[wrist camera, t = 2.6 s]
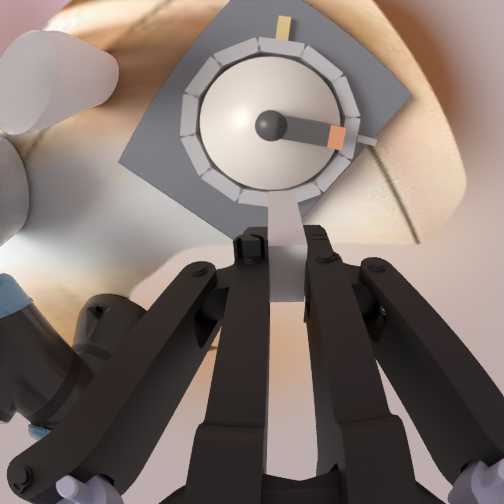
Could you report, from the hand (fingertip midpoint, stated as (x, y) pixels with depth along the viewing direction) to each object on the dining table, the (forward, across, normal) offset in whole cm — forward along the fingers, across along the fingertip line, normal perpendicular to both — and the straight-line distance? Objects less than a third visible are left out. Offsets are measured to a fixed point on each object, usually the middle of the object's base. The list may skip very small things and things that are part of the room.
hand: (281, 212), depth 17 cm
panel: (+12, -1, +5) cm, 14 cm away
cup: (+13, -19, +12) cm, 26 cm away
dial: (+11, 0, +5) cm, 12 cm away
